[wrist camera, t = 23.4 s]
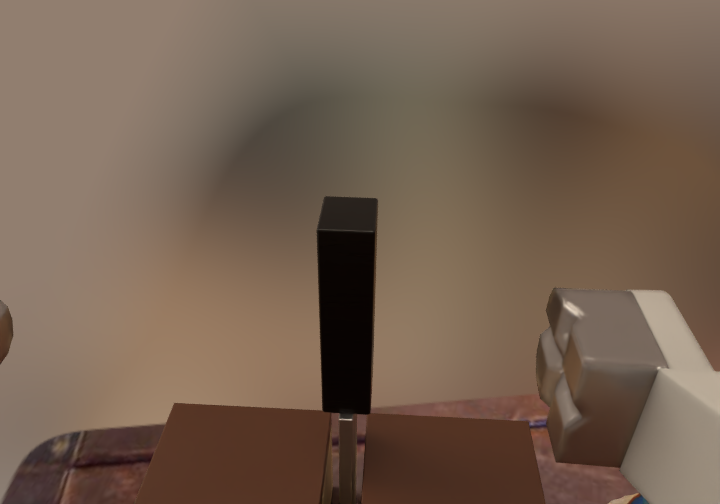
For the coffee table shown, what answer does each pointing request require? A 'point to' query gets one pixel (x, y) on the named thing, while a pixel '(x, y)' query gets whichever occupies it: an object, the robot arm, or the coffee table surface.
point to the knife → (347, 320)
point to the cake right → (449, 461)
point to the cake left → (241, 457)
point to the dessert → (630, 500)
